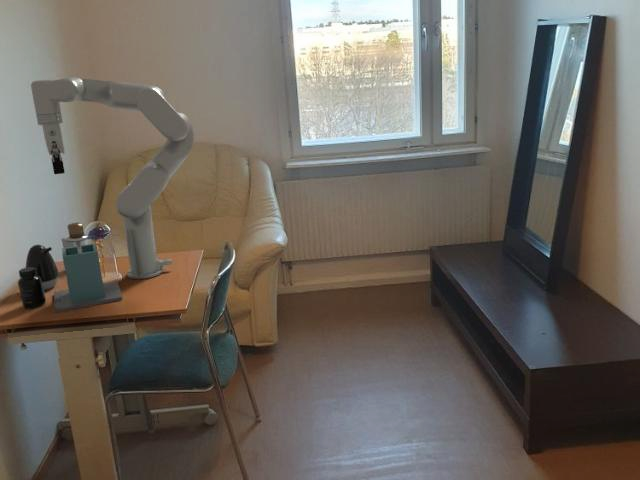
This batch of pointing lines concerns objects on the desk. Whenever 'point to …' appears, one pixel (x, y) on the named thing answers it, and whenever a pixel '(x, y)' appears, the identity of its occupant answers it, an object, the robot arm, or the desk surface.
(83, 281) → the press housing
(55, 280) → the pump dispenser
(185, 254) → the desk surface
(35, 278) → the supplement bottle
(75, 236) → the plunger
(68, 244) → the skincare box
